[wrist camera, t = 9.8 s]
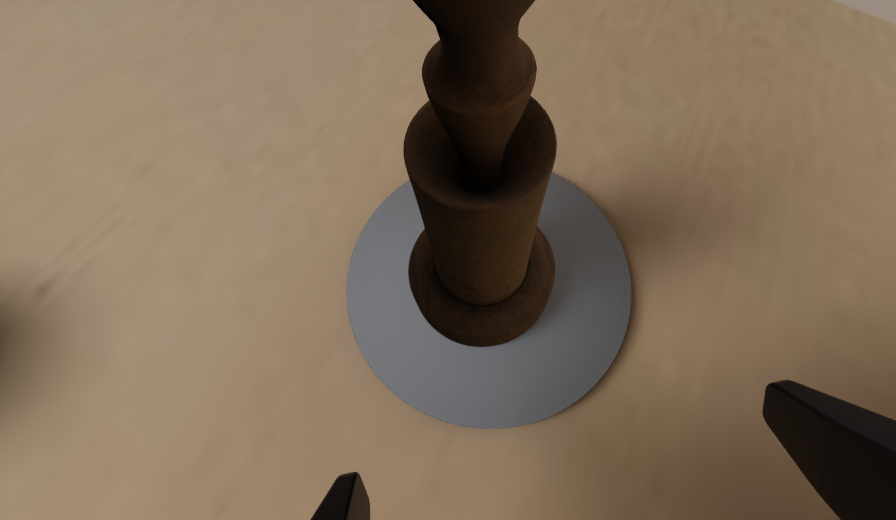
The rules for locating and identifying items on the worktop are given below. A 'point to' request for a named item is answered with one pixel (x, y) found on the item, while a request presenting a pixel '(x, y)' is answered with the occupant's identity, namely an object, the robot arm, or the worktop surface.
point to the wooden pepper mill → (480, 177)
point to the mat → (506, 365)
